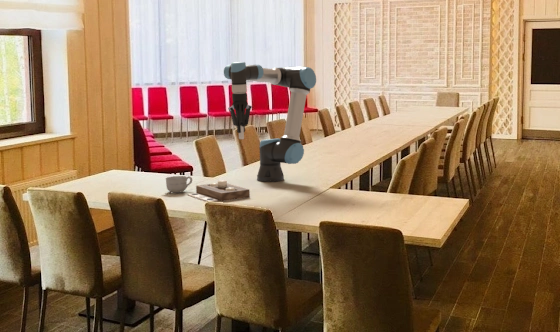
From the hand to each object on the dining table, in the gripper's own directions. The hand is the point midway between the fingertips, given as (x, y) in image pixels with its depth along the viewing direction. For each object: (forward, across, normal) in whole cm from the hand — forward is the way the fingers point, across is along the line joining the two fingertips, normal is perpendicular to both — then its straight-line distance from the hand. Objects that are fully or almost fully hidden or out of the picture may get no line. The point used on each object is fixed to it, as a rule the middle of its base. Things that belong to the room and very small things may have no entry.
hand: (241, 138), depth 374 cm
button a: (+25, +14, -6) cm, 29 cm away
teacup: (+27, +27, -20) cm, 43 cm away
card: (+27, +26, +2) cm, 37 cm away
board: (+27, +14, +2) cm, 30 cm away
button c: (+25, +14, +10) cm, 31 cm away
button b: (+23, +14, +2) cm, 27 cm away
